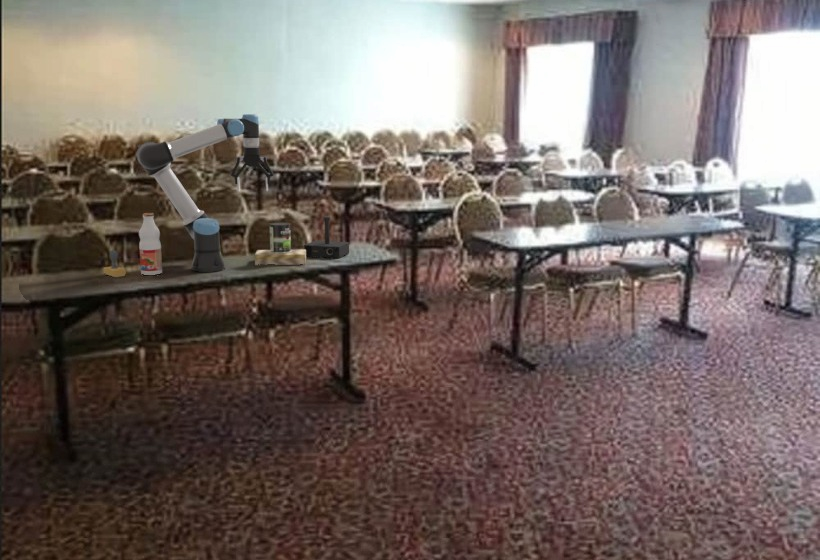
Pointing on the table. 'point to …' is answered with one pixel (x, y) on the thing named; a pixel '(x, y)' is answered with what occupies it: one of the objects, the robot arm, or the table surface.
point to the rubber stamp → (114, 266)
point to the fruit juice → (150, 246)
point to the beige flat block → (281, 257)
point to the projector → (327, 246)
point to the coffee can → (280, 238)
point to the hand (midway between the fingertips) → (252, 191)
